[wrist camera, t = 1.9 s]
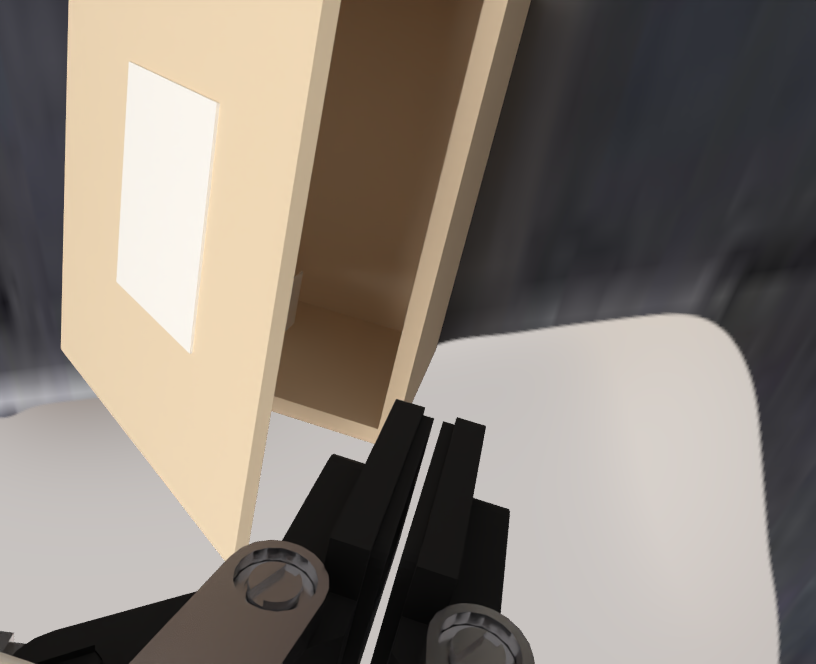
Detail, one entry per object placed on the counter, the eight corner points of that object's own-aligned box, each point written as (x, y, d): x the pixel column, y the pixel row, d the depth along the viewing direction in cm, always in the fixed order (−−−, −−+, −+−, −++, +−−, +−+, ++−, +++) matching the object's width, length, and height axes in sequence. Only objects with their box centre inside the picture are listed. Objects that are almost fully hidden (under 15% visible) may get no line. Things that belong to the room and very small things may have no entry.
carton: (532, -6, 34) (518, -43, 23) (420, 405, 43) (373, 519, 32) (234, -78, 35) (86, -144, 24) (190, 333, 45) (69, 418, 34)
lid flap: (364, -138, 15) (342, -148, 14) (245, 564, 22) (229, 571, 22) (86, -144, 24) (69, -150, 24) (72, 347, 32) (58, 349, 32)
